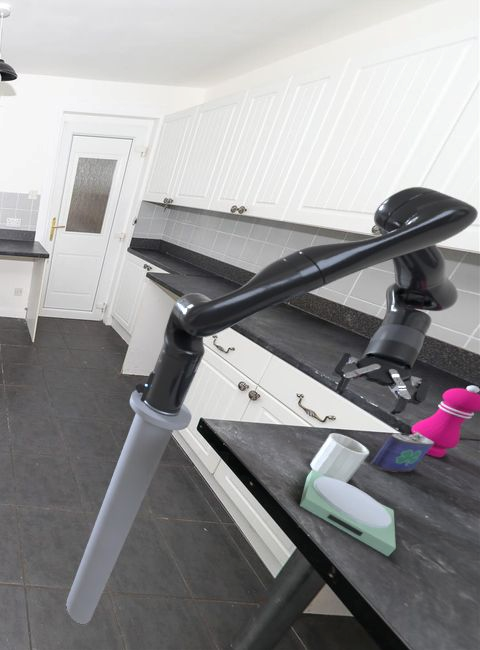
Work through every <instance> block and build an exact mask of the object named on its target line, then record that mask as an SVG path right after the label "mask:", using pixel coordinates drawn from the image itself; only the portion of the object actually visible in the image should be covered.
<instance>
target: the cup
mask: <svg viewBox="0 0 480 650" xmlns="http://www.w3.org/2000/svg"><path fill="white" fill-rule="evenodd" d="M369 454H370V449H368V448H367V447H366V446H365V445H363V444H362V443H361V442H359V441H357V440H356V439H354V438H352V437H349V436H347V435H343V434H341V433H336V432H334V433H329V435H328V436H327V438H326V439H325V440H324V442H323V443H322V445H321V447H320V448H319V449H318V451H317V452H316V454H315V455H314V457H313V458H312V460H311V462H310V464H309V465H310V467H311V470H312V469H313V470H315V471H317V472H319V473H321V474H323V475H325V476H327V477H329V478H334V479H337V480H340V481H343V482H345V483H347V484H348V482H349V481H350V479H351V478H352V477H353V476H354V474H355V473H356V472H357V470H358V469H360V467H361V465H362V464H363V463H364V461H365V460H366V459H367V458H368V456H369Z"/></svg>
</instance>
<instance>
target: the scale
mask: <svg viewBox="0 0 480 650" xmlns="http://www.w3.org/2000/svg"><path fill="white" fill-rule="evenodd" d="M299 507H301V508H303V509H305V510H306V511H308V512H310V513H312V514H313V515H315V516H317V517H318V518H320V519H321V520H323V521H325V522H327V523H328V524H331V525H332V526H333V527H336V528H338V529H339V530H341V531H343V532H345V533H346V534H348V535H350V536H351V537H353V538H355V539H357V540H358V541H360V542H362V543H364V544H365V545H367V546H369V547H370V548H372V549H374V550H375V551H377V552H379V553H381V554H382V555H385V556H386V557H389V556H390V555H391V554H392V553H393V552H394V551H395V550H396V549H397V545H396V529H395V528H396V525H395V512H394V509H392V508H390V507H388V506H386V505H384V504H382V503H380V502H378V501H377V500H375V498H374V497H372V496H370V495H369V494H367V493H366V492H364V491H363V490H361V489H360V488H357V487H355V486H353V485H351V484H349V483H348V482H347V483H345V482H343V481H340V480H337V479H334V478H329V477H327V476H325V475H323V474H321V473H319V472H317V471H315V470H313V469H312V468H311V470H310V472H309V473H308V475H307V477H306V480H305V484H304V488H303V492H302V495H301V499H300V503H299Z"/></svg>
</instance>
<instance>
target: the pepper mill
mask: <svg viewBox="0 0 480 650" xmlns="http://www.w3.org/2000/svg"><path fill="white" fill-rule="evenodd" d="M442 399H443V401H441V402H440V403H439V404H438V409H437V411H436V412H435V413H434V414H433V415H432V416H430V417H427V418H425V419H422V420H419V421H418V422H416V423H415V424H414V425H412V427H411V432H412V433H411V434H412V435H413V434H416V433H415V432H418V433H419V434H421V435H422V436H424V437H426V438H428V439H429V440H431V441H433V442H434V445H433V446H432V447H431V448H430V449H429V450H428V451H427V453H426V454H425V455H428V456H431V457H434V458H442V457H444V456H445V455H446V453H448V451H447V450H448V449H449V450H450V449H454V448H456V447H457V446H458V444H459V443H460V438H461V426H462V425H463V423H464V422H465V421H466V420H467V419H472V417H473V416H474V415H475V412H480V388H479V386H476V385H468V386H467V387H466V388H460V387H456V388H455V387H454V388H450V389H448V390H446V391H444V392H443V394H442ZM414 431H415V432H414Z"/></svg>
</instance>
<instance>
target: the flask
mask: <svg viewBox="0 0 480 650" xmlns="http://www.w3.org/2000/svg"><path fill="white" fill-rule="evenodd" d="M414 432H415V431H414ZM415 433H416V434H413V433H412V434H409V435H402V433H399V434H398V433H391V434H390V435H389V437H388V438H387V439H386V441H385V443H383V445H382V446H381V448H380V449H379V450H378V452H377V454H376V455H375V456H374V457H373V459H372V460H371V461H370V465H372V466H373V467H375V468H376V469H380V470H381V471H382V470H383V471H387V472H392V473H393V472H394V473H399V472H400V473H410V472H412V471H413V470H414V469H415V467H416V466H417V465H418V464H419V463H420V461H421V460H422V459H423V458H424V456H425V455H427V454H426V453H427V451H428V450H429V449H430V448H431V447H432V446H433V445H434V442H433V441H431V440H429V439H428V438H426V437H424V436H422V435H421V434H419V433H418V432H415Z"/></svg>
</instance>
